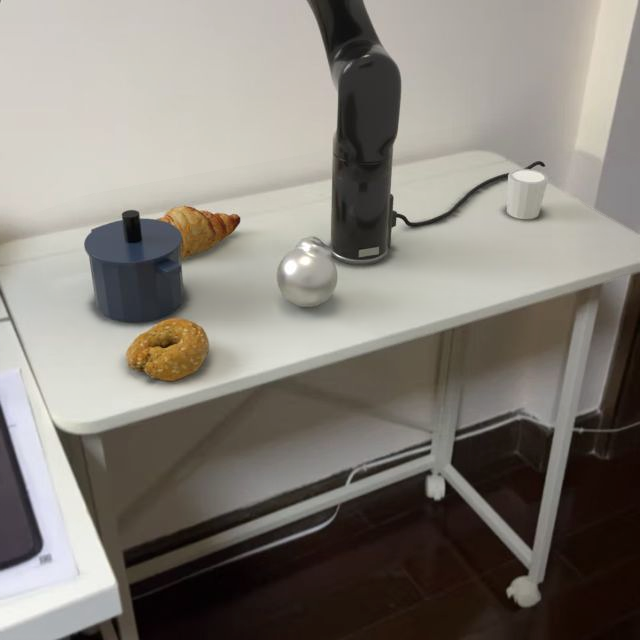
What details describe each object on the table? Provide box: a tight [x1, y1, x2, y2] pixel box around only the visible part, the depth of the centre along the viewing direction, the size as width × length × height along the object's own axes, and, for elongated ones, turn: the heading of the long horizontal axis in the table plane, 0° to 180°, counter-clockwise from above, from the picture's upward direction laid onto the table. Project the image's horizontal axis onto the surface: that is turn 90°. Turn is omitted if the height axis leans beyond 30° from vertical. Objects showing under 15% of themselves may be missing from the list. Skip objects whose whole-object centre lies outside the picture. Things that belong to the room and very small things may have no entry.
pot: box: [88, 224, 185, 324], centre depth 126 cm, size 13×18×10 cm
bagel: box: [125, 317, 210, 382], centre depth 114 cm, size 10×11×5 cm
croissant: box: [155, 205, 241, 260], centre depth 141 cm, size 21×10×8 cm, turn 123°
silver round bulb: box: [276, 235, 338, 308], centre depth 126 cm, size 9×10×10 cm
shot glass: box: [506, 168, 549, 220], centre depth 153 cm, size 7×7×7 cm
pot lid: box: [83, 209, 182, 266], centre depth 122 cm, size 14×14×5 cm
